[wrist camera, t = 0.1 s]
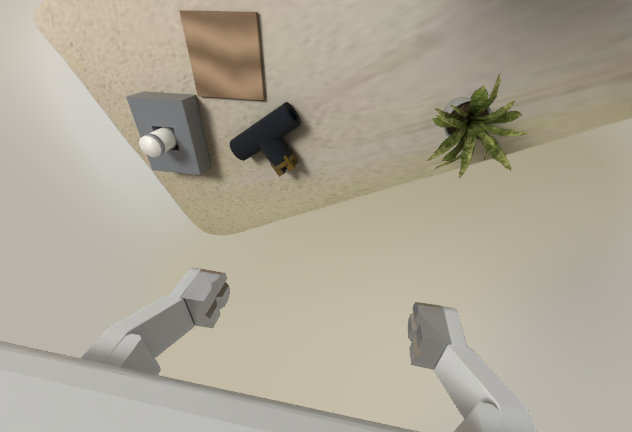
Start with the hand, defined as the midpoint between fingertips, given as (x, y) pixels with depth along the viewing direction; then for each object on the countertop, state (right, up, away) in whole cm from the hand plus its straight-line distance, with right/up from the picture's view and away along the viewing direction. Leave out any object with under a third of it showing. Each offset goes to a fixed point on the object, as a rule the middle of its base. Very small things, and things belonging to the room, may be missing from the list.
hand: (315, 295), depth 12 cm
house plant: (+25, +23, +38) cm, 51 cm away
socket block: (-31, +23, +50) cm, 63 cm away
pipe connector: (-8, +20, +48) cm, 53 cm away
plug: (-31, +23, +50) cm, 63 cm away
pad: (-17, +33, +40) cm, 55 cm away
